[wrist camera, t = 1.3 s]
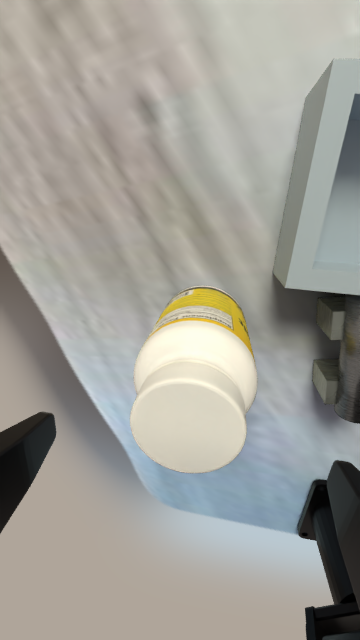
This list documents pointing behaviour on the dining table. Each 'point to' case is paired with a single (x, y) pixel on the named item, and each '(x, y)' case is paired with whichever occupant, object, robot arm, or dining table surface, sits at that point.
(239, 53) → the dining table surface
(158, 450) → the supplement bottle
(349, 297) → the shaft
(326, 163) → the housing
